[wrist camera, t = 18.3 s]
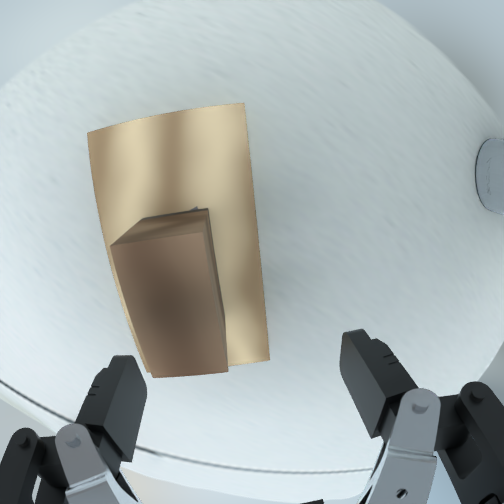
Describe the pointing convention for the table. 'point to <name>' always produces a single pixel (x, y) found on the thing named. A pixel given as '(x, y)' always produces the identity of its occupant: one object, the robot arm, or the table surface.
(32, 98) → the table surface
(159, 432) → the table surface
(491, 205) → the robot arm
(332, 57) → the table surface
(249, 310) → the pine board
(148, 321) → the block
